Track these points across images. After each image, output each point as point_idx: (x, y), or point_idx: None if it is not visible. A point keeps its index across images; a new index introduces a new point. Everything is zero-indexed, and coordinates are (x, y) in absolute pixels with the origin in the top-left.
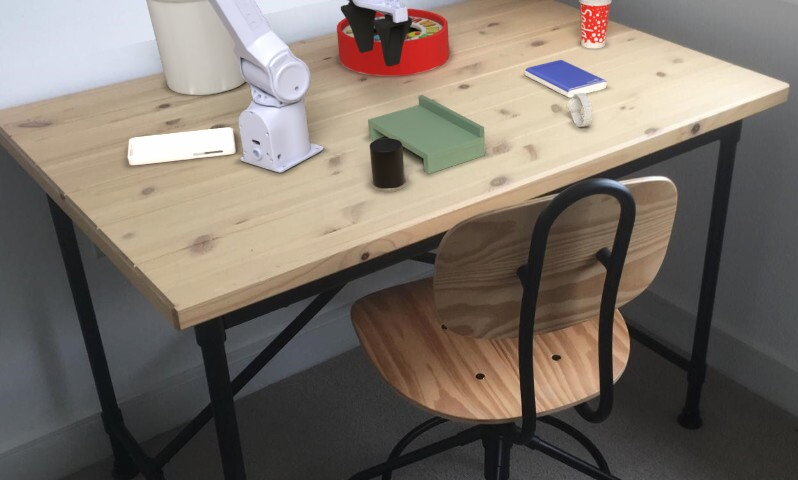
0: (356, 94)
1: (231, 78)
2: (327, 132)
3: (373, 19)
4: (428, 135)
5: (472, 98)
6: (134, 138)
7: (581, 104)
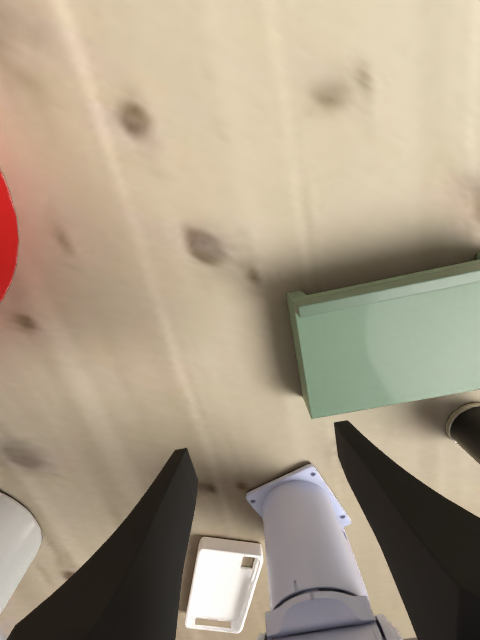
0: (103, 357)
1: (13, 528)
2: (249, 441)
3: (142, 553)
4: (447, 351)
5: (213, 134)
6: (187, 624)
7: None
